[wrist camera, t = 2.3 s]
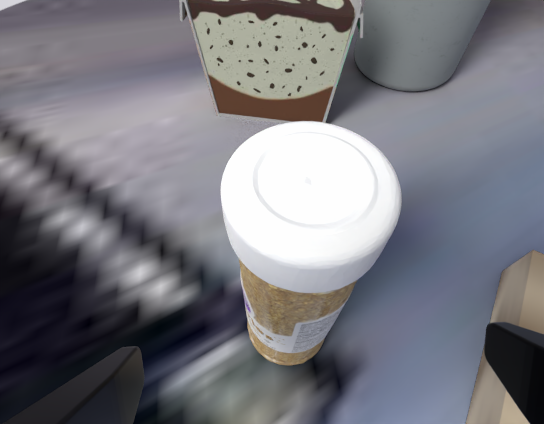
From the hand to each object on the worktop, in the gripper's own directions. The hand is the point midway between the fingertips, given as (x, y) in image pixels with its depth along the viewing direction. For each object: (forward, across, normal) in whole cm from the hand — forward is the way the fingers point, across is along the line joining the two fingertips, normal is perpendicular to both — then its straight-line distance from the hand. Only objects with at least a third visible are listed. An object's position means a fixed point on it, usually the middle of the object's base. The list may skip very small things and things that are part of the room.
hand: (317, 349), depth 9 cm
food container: (+24, -1, -9) cm, 26 cm away
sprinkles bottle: (+10, 0, +5) cm, 11 cm away
